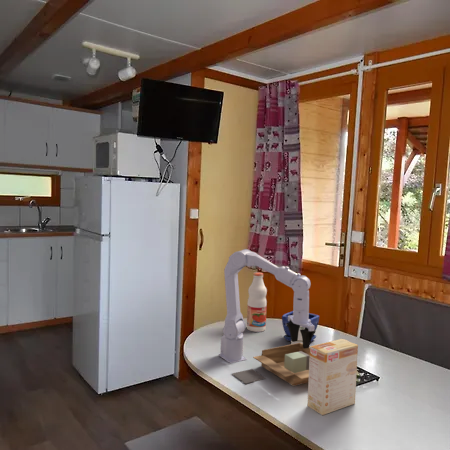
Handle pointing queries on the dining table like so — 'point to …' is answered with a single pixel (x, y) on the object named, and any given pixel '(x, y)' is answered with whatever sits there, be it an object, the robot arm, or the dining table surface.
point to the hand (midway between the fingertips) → (300, 344)
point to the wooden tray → (275, 363)
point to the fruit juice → (257, 304)
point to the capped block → (297, 361)
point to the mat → (248, 376)
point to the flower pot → (312, 317)
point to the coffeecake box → (332, 376)
